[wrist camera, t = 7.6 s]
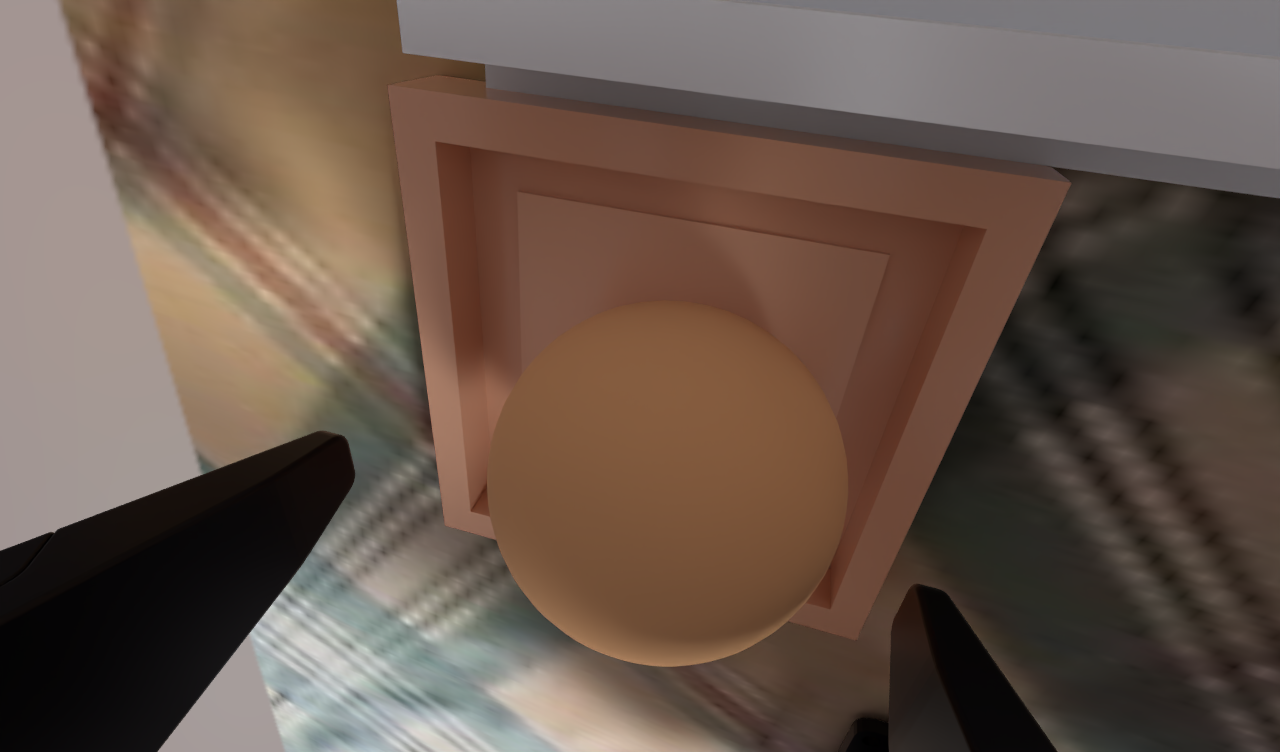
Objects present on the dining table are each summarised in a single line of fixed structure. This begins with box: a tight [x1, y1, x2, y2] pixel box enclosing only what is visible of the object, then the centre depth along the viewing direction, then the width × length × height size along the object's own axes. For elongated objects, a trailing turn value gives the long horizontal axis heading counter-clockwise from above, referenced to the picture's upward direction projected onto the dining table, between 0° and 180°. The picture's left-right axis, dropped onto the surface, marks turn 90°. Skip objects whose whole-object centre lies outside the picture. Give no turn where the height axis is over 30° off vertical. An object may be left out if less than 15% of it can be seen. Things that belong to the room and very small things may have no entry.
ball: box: [487, 300, 848, 667], centre depth 10 cm, size 6×6×6 cm
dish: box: [387, 75, 1071, 641], centre depth 13 cm, size 11×11×2 cm
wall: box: [397, 0, 1280, 198], centre depth 8 cm, size 2×14×3 cm, turn 85°
